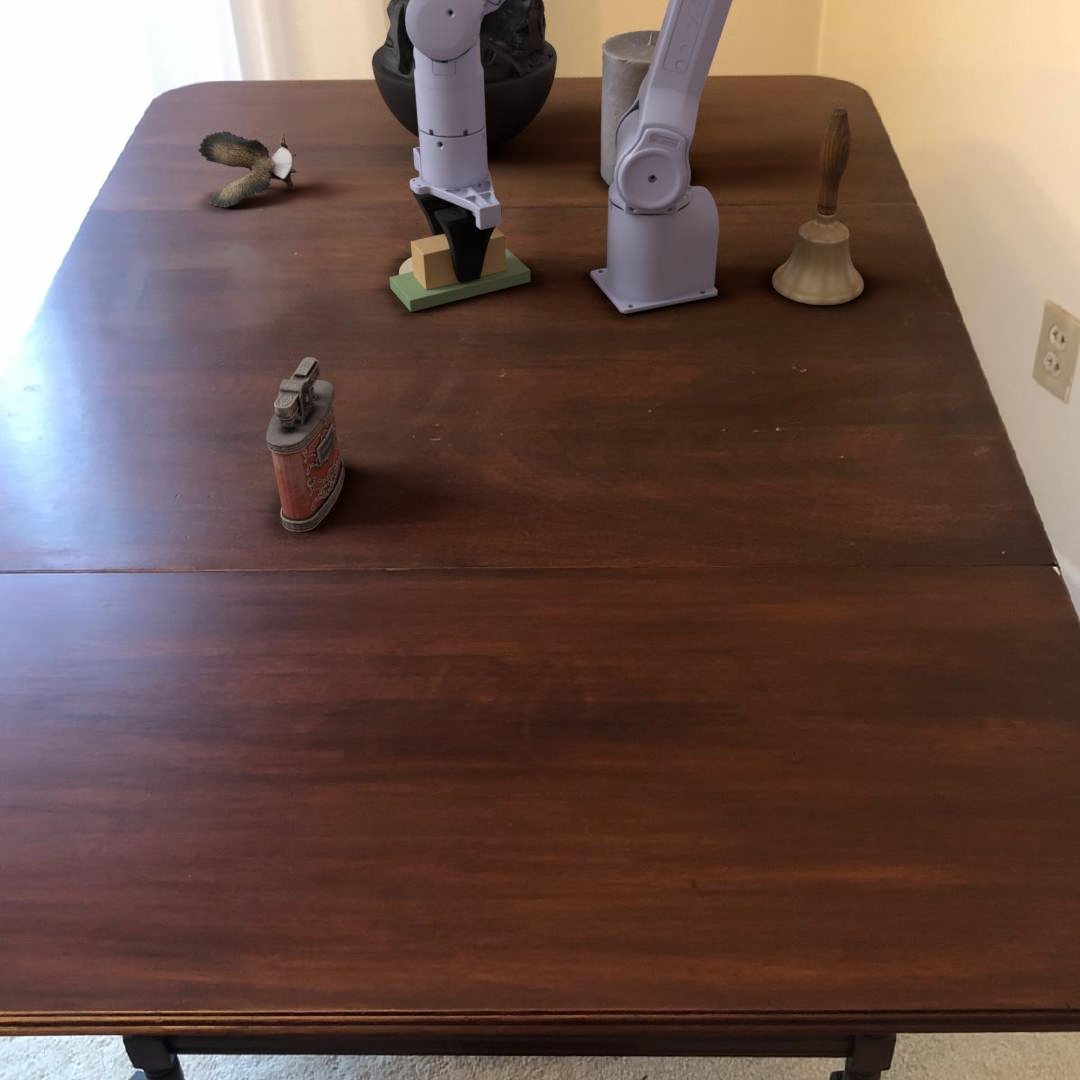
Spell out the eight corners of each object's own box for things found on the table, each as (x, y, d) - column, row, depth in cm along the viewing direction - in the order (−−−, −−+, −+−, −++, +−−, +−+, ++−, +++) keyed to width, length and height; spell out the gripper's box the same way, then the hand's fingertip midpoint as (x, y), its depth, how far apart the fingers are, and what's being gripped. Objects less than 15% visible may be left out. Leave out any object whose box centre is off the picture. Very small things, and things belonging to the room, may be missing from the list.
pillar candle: (705, 169, 132) (716, 25, 123) (662, 202, 126) (670, 53, 116) (626, 151, 136) (631, 11, 127) (582, 182, 130) (583, 37, 120)
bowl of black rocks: (343, 155, 136) (322, -24, 124) (453, 100, 149) (443, -67, 137) (487, 197, 127) (479, 9, 115) (591, 135, 140) (593, -41, 128)
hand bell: (761, 296, 110) (782, 122, 100) (783, 257, 116) (804, 88, 106) (853, 313, 108) (884, 136, 98) (871, 271, 114) (901, 100, 104)
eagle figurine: (276, 158, 133) (193, 159, 129) (290, 115, 127) (203, 114, 123) (294, 217, 131) (210, 220, 127) (308, 176, 125) (221, 178, 121)
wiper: (531, 282, 113) (530, 234, 110) (410, 312, 109) (406, 264, 106) (507, 259, 116) (506, 213, 113) (390, 288, 112) (385, 241, 109)
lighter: (317, 534, 85) (298, 415, 79) (271, 528, 86) (248, 409, 79) (354, 467, 91) (338, 351, 85) (311, 462, 92) (292, 346, 85)
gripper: (376, 105, 107) (390, 248, 115) (442, 164, 97) (452, 316, 105) (450, 91, 109) (459, 232, 118) (522, 147, 99) (525, 297, 108)
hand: (460, 271), depth 112 cm, fingers closed on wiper, 3 cm apart
